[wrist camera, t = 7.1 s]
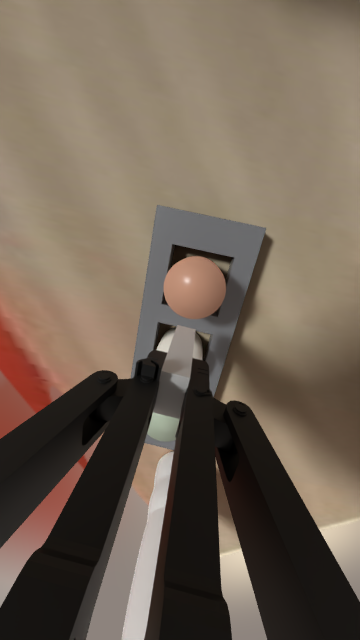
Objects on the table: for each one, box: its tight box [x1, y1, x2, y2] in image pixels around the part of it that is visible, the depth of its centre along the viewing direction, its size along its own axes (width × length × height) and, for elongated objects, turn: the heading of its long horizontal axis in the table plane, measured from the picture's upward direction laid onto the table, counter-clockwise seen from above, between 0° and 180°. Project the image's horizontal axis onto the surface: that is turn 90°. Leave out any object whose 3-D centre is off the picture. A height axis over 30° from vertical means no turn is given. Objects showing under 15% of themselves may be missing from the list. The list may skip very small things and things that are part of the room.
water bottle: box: [122, 451, 174, 640], centre depth 20 cm, size 7×7×25 cm
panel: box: [131, 205, 266, 450], centre depth 25 cm, size 28×10×2 cm, turn 168°
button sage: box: [147, 413, 180, 442], centre depth 26 cm, size 5×5×4 cm
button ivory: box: [156, 327, 203, 360], centre depth 24 cm, size 5×5×4 cm
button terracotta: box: [164, 256, 226, 319], centre depth 19 cm, size 5×5×4 cm
